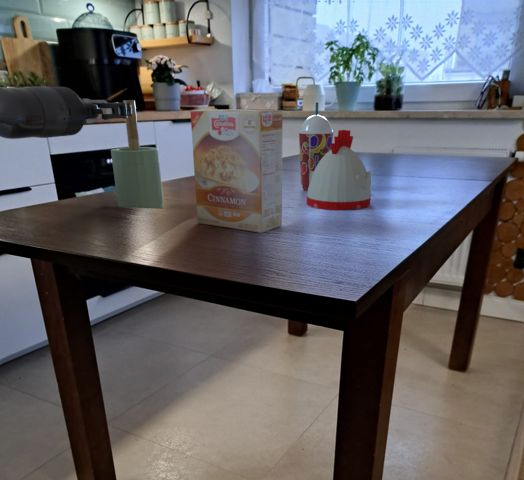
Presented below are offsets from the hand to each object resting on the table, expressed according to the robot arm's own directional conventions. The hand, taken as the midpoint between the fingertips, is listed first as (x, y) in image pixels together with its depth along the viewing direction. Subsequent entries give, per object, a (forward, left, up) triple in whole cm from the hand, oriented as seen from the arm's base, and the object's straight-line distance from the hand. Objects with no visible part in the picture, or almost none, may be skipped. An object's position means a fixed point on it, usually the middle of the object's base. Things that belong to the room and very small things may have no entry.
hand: (111, 109), depth 98 cm
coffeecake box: (+26, -5, -20) cm, 33 cm away
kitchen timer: (+42, +19, -20) cm, 50 cm away
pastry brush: (+1, +6, -19) cm, 19 cm away
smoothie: (+34, +37, -20) cm, 54 cm away
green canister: (+1, +6, -20) cm, 20 cm away
